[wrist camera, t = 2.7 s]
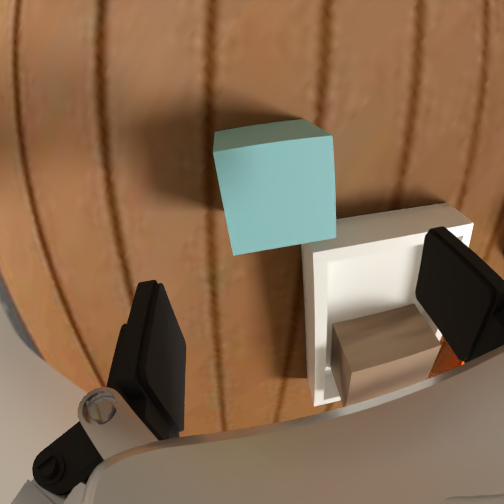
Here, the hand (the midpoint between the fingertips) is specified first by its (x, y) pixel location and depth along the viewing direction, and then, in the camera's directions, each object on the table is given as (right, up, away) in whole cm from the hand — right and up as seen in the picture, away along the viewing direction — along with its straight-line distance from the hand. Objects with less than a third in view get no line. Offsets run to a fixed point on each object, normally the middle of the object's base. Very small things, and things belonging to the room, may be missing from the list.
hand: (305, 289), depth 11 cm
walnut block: (+11, -8, +20) cm, 24 cm away
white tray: (+10, -4, +19) cm, 22 cm away
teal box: (-1, +7, +11) cm, 13 cm away
